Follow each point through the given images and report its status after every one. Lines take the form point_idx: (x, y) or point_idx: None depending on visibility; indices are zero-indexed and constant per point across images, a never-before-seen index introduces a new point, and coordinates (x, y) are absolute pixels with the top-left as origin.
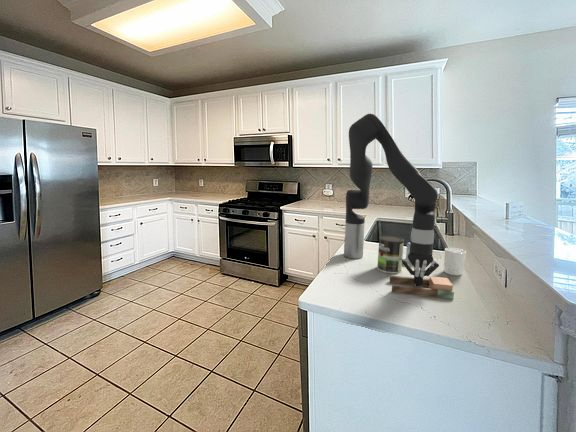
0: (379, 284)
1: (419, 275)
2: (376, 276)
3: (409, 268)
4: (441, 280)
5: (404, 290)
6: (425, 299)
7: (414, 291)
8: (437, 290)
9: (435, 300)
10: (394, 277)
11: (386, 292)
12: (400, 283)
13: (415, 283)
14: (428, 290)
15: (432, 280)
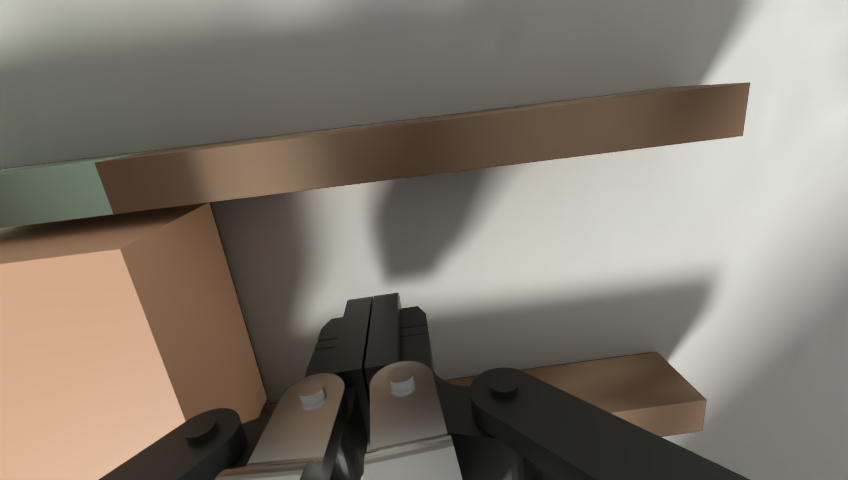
0: (776, 265)
1: (357, 413)
2: (763, 445)
3: (607, 466)
4: (34, 426)
5: (551, 103)
6: (289, 23)
7: (424, 120)
8: (102, 160)
9: (169, 41)
10: (651, 400)
11: (743, 60)
12: (549, 368)
13: (409, 313)
14: (235, 144)
15: (162, 377)
